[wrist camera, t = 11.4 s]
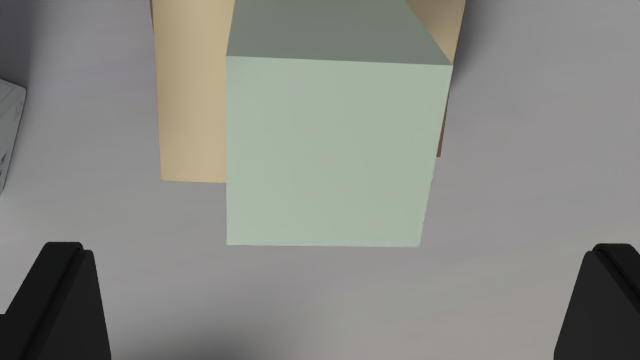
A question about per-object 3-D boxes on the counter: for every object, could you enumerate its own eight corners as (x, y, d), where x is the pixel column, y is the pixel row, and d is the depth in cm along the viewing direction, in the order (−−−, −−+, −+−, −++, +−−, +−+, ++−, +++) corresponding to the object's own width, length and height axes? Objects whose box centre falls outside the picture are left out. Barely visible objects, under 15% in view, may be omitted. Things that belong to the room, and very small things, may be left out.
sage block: (395, -11, 20) (453, 65, 14) (377, 130, 22) (418, 247, 16) (238, -20, 19) (225, 55, 13) (237, 125, 22) (226, 244, 16)
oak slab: (450, -106, 22) (484, -91, 19) (406, 142, 27) (426, 190, 24) (165, -132, 21) (146, -121, 17) (175, 131, 26) (161, 180, 23)
